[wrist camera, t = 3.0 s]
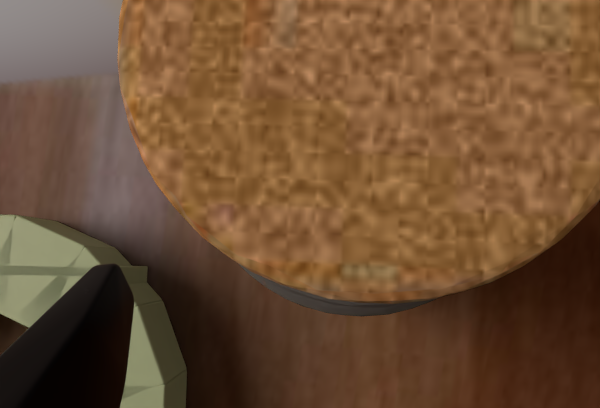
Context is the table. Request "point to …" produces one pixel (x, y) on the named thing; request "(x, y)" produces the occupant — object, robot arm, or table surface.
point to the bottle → (368, 136)
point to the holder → (64, 274)
